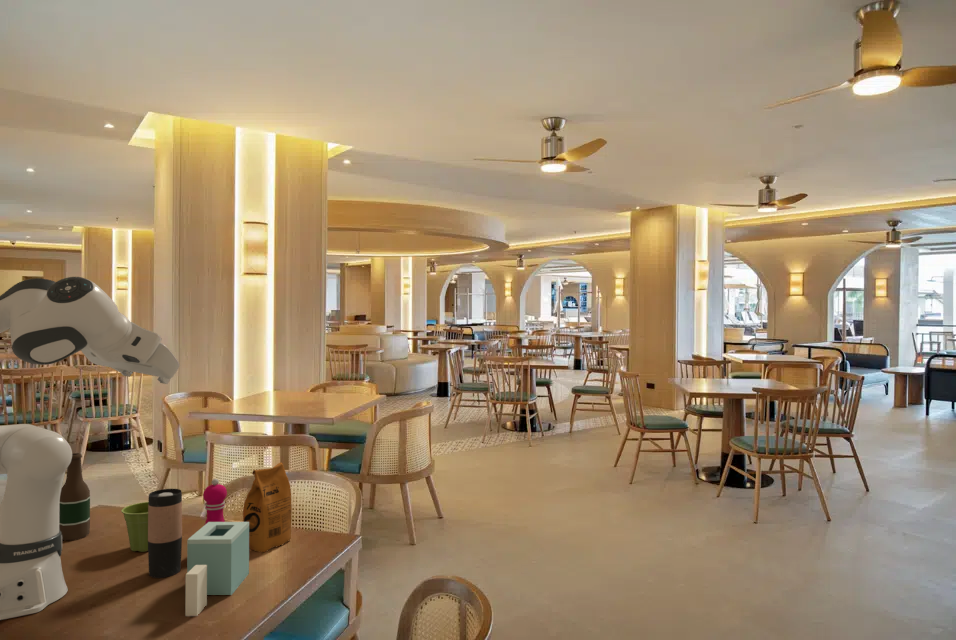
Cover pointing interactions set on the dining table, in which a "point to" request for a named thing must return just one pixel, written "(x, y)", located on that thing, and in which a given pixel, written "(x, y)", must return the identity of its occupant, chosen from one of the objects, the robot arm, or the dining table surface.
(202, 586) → the white rectangular block
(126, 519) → the plant pot
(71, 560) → the dining table surface
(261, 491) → the coffee package
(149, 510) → the travel mug
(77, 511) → the beer bottle
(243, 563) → the box
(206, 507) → the pepper mill
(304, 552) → the dining table surface
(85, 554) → the dining table surface
